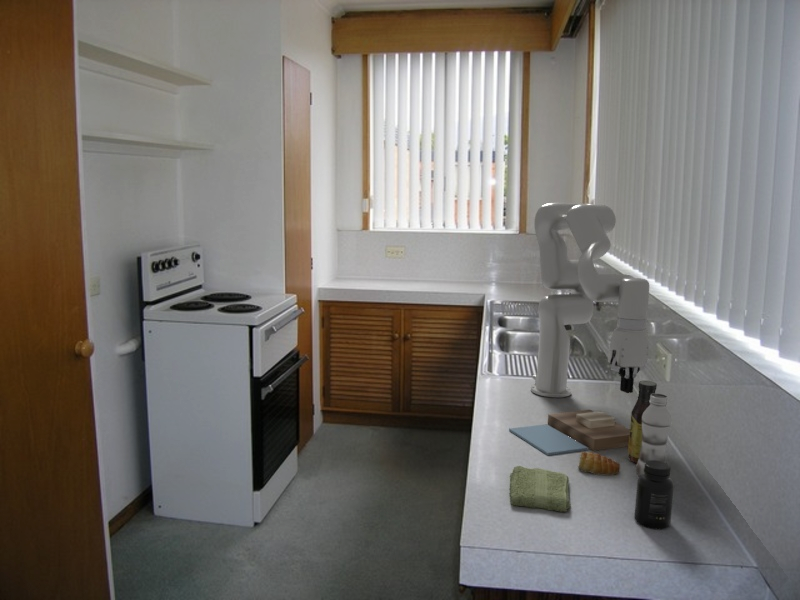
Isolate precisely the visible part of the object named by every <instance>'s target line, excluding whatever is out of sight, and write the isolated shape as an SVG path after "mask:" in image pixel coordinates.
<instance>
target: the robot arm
mask: <svg viewBox="0 0 800 600" xmlns="http://www.w3.org/2000/svg"><path fill="white" fill-rule="evenodd" d="M616 220H617V219H616V213H615V212H614V210H613V209H612V208H611V207H610V206H609V205H607V204H606V205H605V204H591V203H582V202H581V203H578V202H577V203H576V202H575V203H574V202H573V203H572V202H549V203H546V204H543V205H541V206H540V207H539V208H538V209H537V211H536V212H535V217H534V220H533V221H534V223H533V224H534V232H535V236H536V240H537V242H538V243H537V244H538V248H539V249H538V250H539V263H540V264H539V265H540V276H541V277H540V278H541V284H542V285H543V287H544V288H545V289H547V290H551V291H570V292H571V293H560V294H559V293H557V294H555V293H554V294H549V295H545V296H543V297H542V298H541V299H540V300H539V303H538V308H537V311H538V320H539V336H538V337H539V338H538V354H537V366H536V374H534V375H532V377H531V378H532V379H533V380H534V384H532V385H531V386H530V391H531V393H533V394H535V395H537V396H541V397H545V398H555V399H556V398H565V397H566V398H567V397H569V396H571V394H572V390H571V388H569V387H567V383H568V373H569V372H568V371H569V359H570V346H571V345H570V344H571V338H570V334H569V333H568V331H567V329H566V327H565V326H567V325H568V326H569V325H581V324H586V323H589V322H590V321H591V319H592V318H593V315H594V309H595V307H594V306H595V305H594V302H596V303H611V302H612V303H613V302H614V303H617V314H616V328H614V329H613V331H612V333H611V337H610V342H609V348H608V356H607V363H608V364H609V365H610V370H611V371H612V372H615V373H618V376H619V377H620V389H619V390H620V391H621V392H624V393H625V394H629V393H630V394H631V393H632V394H633V391H634V383H635V382H634V381H635V379H636V378H637V374H638V373H639V372H640V371H643V370H645V369H646V365H647V364H648V361H649V334H648V333H649V332H648V330H647V325H648V324H649V323H650V321H649V319H648V309H649V297H650V295H649V294H650V282H649V280H647V279H645V278H641V277H634V276H632V275H630V274H626V273H624V274H623V273H621V274H620V273H619V274H616V273H614V274H613V273H612V274H607V273H605V274H604V273H603V274H602V273H600V274H599V273H598V271H597V269H596V267H595V265H594V261H596V260H598V259H600V258H602V257H604V256H605V255H606V254H607V253H608V252H609V250H610V249H611V247H612V246H611V245H612V244H611V240H610V238H609V237H608V236H609V235H608V233H611V232H612V231H613V229H614V228H615V226H616V222H617V221H616ZM559 231H570V233H571V234H572V236H573V238H574V240H575V242H576V245H577V247H578V248H579V251H580V253H581V255H580V256H579V257H580V258H579V259H569V257H568V245H567V243H566V241H565V239H564V237H563V236H562V235H561V234H560V232H559Z"/></svg>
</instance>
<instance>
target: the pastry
mask: <svg viewBox="0 0 800 600" xmlns="http://www.w3.org/2000/svg"><path fill="white" fill-rule="evenodd" d="M577 468H578V469H579V470H580V471H582V472H584V473H592V474H594V475H603V476H612V475H618V474H619V473H620V470H621V469H620V468H621V465H620V464H619V463H618V462H617V461H616V460H614V459H613V460H612V459H611V458H609V457H607V456H605V455H602V454H599V453H593V452H590V451H588V452H585V451H580V456H579V463H578V465H577Z"/></svg>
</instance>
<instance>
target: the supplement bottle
mask: <svg viewBox="0 0 800 600" xmlns="http://www.w3.org/2000/svg"><path fill="white" fill-rule="evenodd" d="M670 477H671V465H670V464H669V463H667V462H666V463H665V462H662V461H656V460H650V461H646V462H645V467H644V474H642V475H640V477H638V478H637V483H636V484H637V485H636V494H635V495H636V496H635V503H634V515H633V517H634V520H635V522H636V523H638V524H639V525H640V526H641V527H645V528H647V529H652V530H665V529H668V527H670V526H671V520H672V513H673V503H674V493H675V483H674V481H673V480H672V478H670Z"/></svg>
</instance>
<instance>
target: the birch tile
mask: <svg viewBox="0 0 800 600" xmlns="http://www.w3.org/2000/svg"><path fill="white" fill-rule="evenodd" d="M576 421H577V422H579V423H580V424H582V425H584V426H586V427H588V428H598V427H606V426H614V425H615V422H616V418H615V417H613V416H611V415H609V414H607V413H605V412H603V411H601V410H600V411H598V410H597V411H594V412H590V413H581V414H576Z"/></svg>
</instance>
